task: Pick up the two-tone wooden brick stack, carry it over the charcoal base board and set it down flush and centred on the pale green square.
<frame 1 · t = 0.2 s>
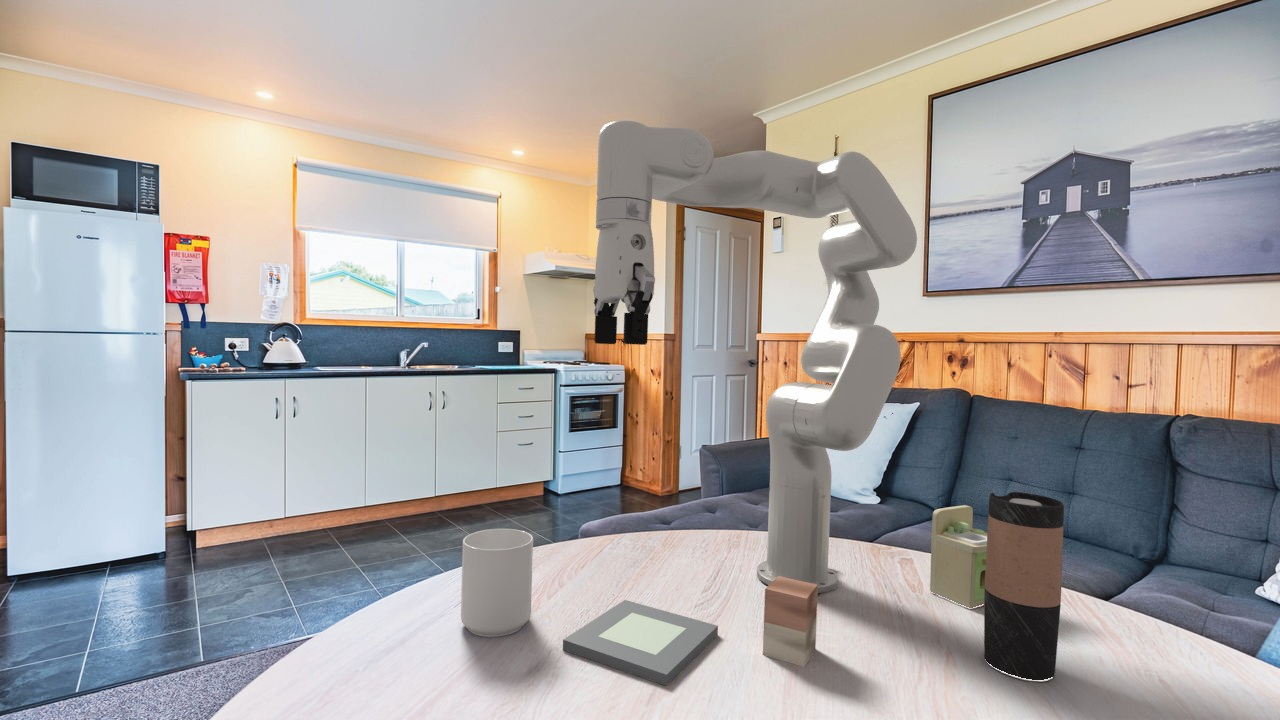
hand: (619, 344, 83), 37 cm above the table, tool pointing down, fingers open, 9 cm apart
toy sink: (967, 599, 92), on the table
mug: (499, 620, 80), on the table
base board: (642, 642, 75), on the table
brick stack: (789, 651, 74), on the table
travel mug: (1018, 667, 72), on the table
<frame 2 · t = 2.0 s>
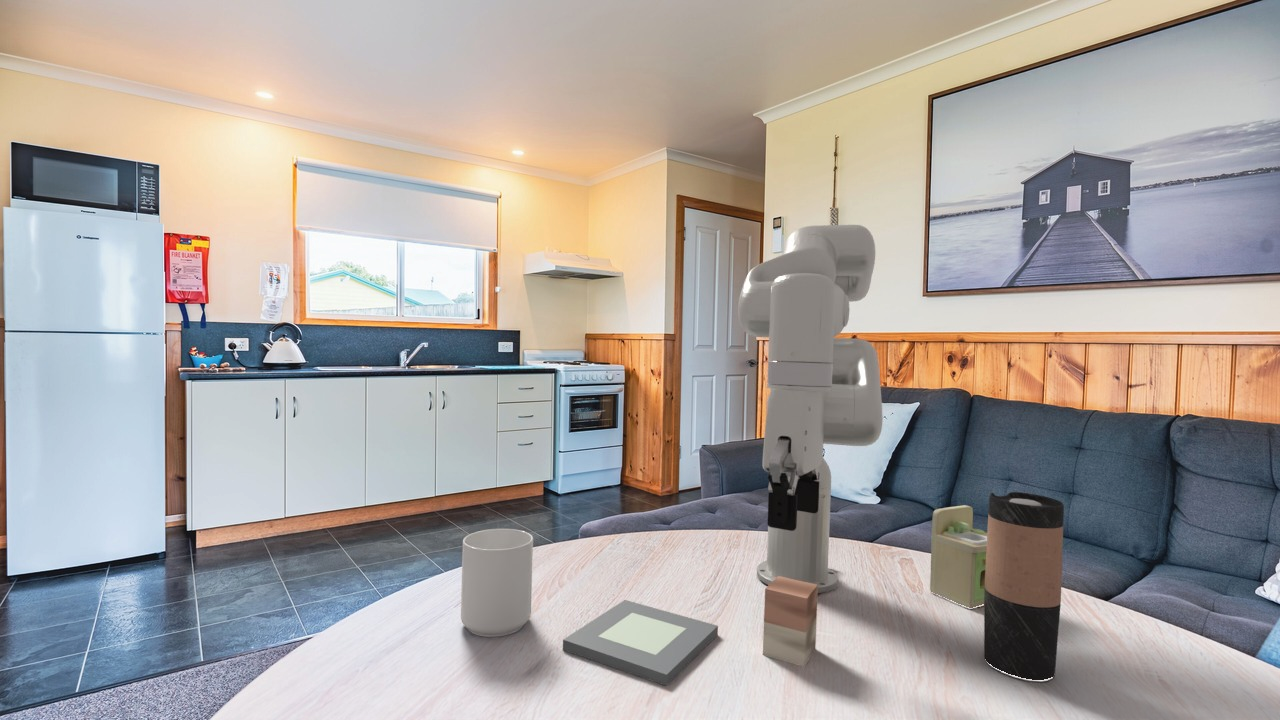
hand: (794, 519, 73), 16 cm above the table, tool pointing down, fingers open, 9 cm apart
nothing on the table moved.
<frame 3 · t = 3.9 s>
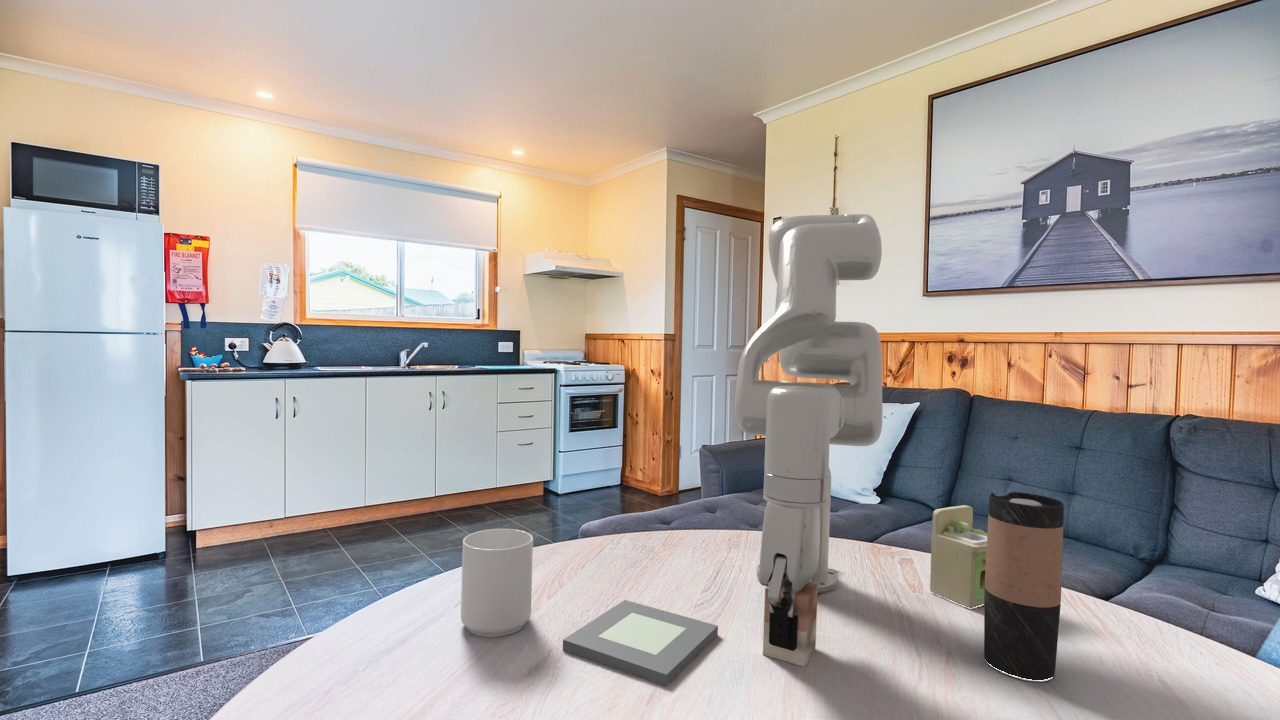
hand: (789, 635, 74), 2 cm above the table, tool pointing down, fingers closed on brick stack, 5 cm apart
brick stack: (789, 651, 74), on the table, touching gripper
everything else where it was.
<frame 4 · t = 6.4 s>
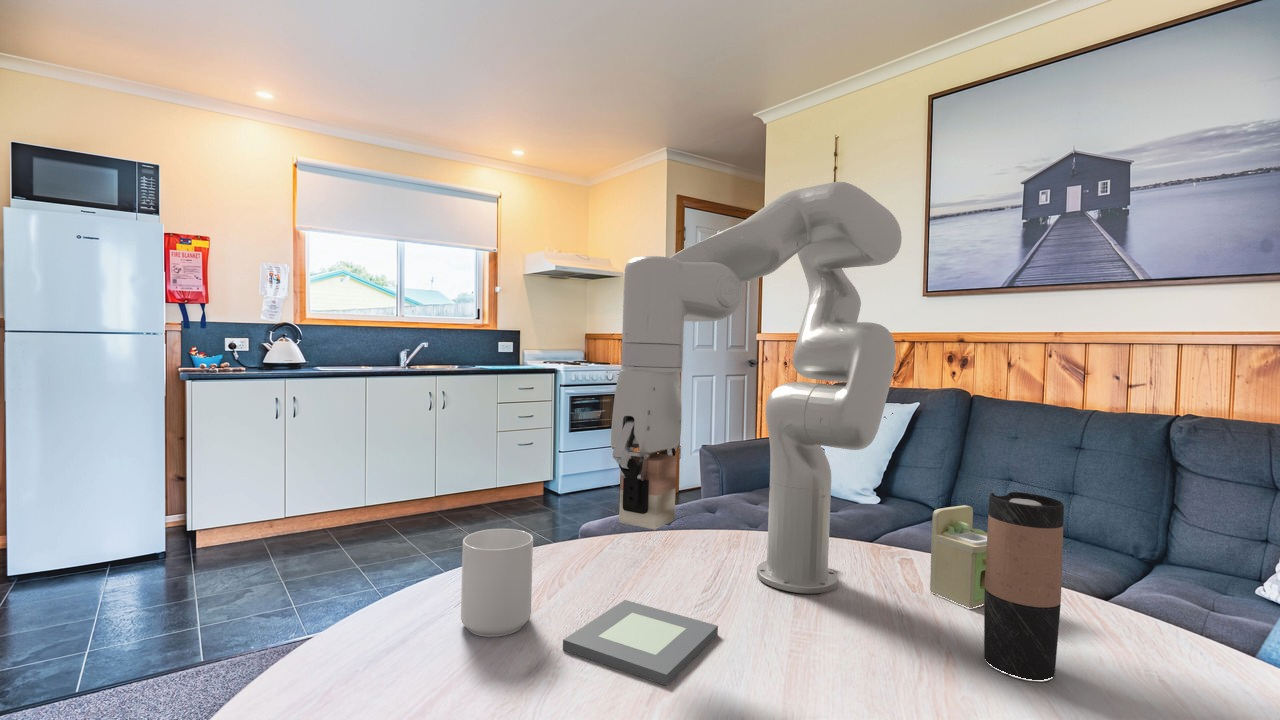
hand: (647, 505, 75), 17 cm above the table, tool pointing down, fingers closed on brick stack, 5 cm apart
brick stack: (647, 521, 75), point 15 cm above the table, touching gripper
everything else where it was.
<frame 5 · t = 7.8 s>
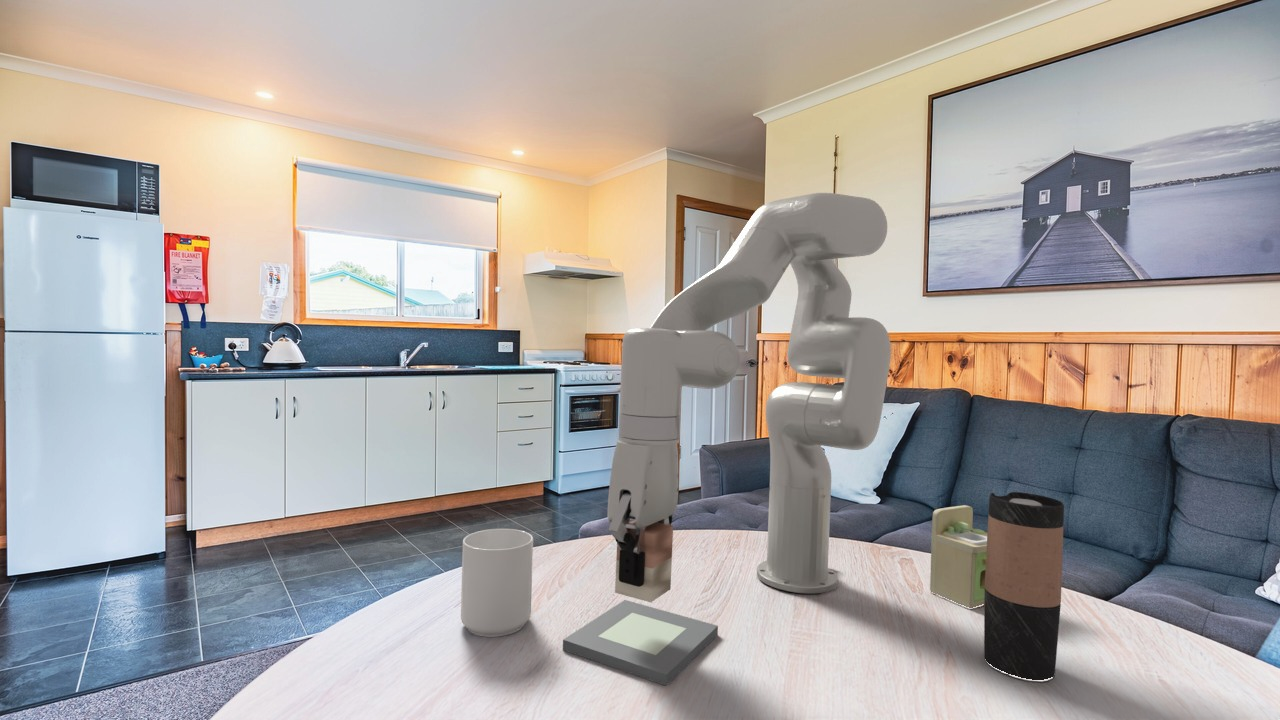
hand: (643, 574, 75), 8 cm above the table, tool pointing down, fingers closed on brick stack, 5 cm apart
brick stack: (643, 590, 75), point 6 cm above the table, touching gripper
everything else where it was.
when the fingers open (4 cm above the table, at t = 9.0 s): brick stack drops 1 cm, resting on base board.
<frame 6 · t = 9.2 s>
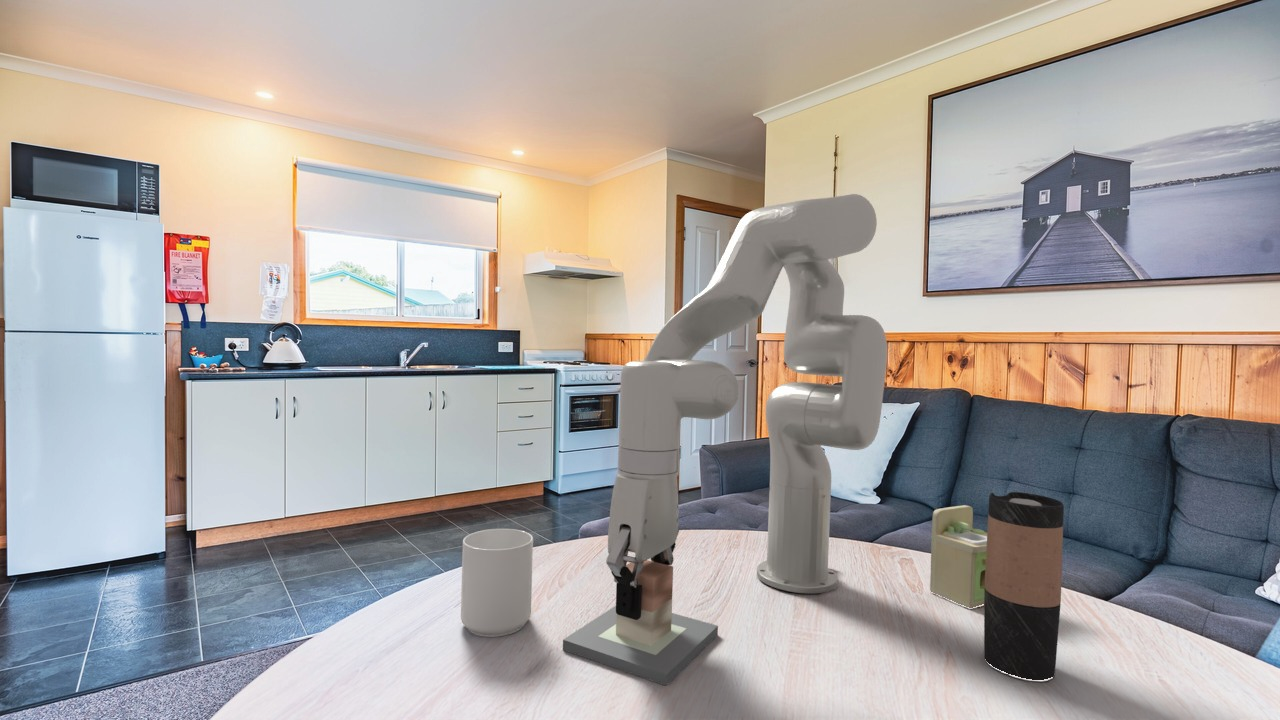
hand: (644, 604, 75), 5 cm above the table, tool pointing down, fingers open, 6 cm apart
brick stack: (643, 632, 75), point 1 cm above the table, touching base board
everything else where it was.
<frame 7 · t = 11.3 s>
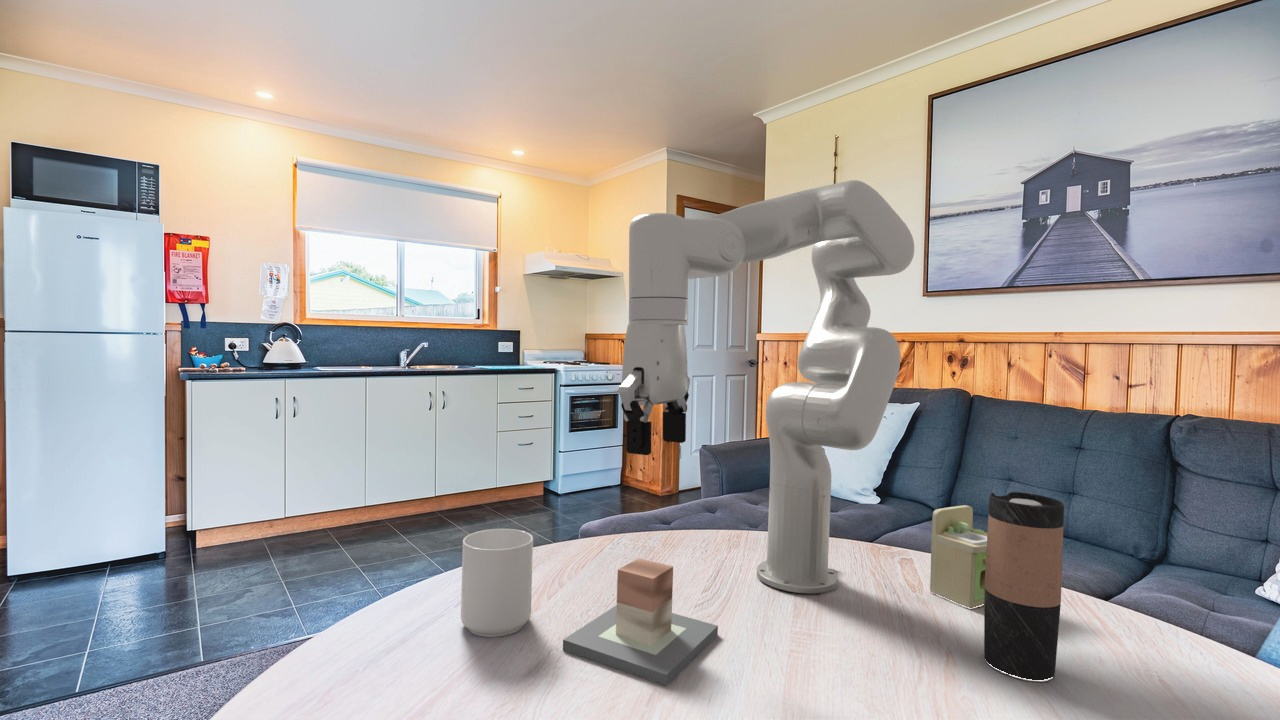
hand: (657, 447, 78), 24 cm above the table, tool pointing down, fingers open, 9 cm apart
nothing on the table moved.
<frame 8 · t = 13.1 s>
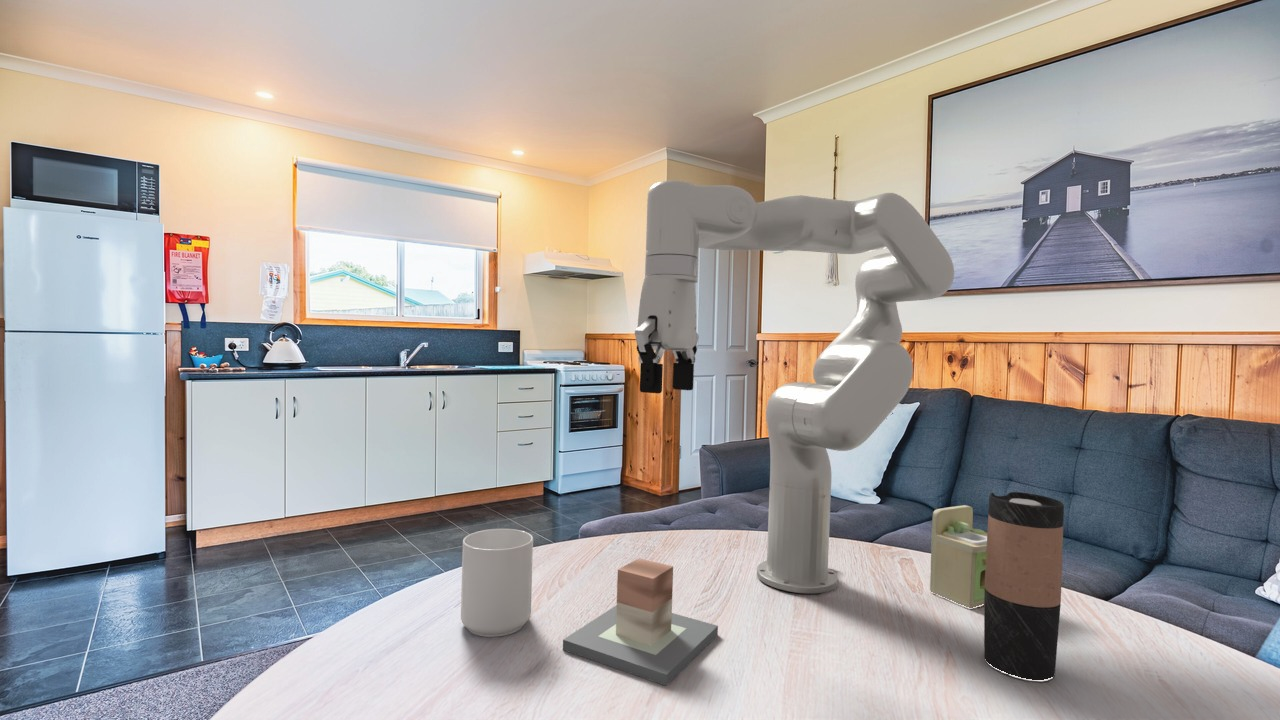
hand: (667, 391, 87), 30 cm above the table, tool pointing down, fingers open, 9 cm apart
nothing on the table moved.
at the end: brick stack inside the target area on the base board (0.1 cm from its centre), point 1.2 cm above the base board's base; brick stack tilted 0°; the gripper is holding nothing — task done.
